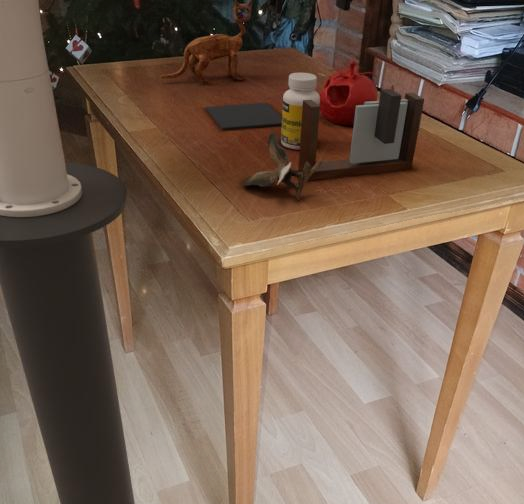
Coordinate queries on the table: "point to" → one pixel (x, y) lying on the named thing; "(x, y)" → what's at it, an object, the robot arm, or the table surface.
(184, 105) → the table surface
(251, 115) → the rubber mat
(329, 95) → the pomegranate
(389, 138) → the sliding panel with handle
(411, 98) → the dark brown u-shaped frame
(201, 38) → the cat figurine
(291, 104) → the supplement bottle
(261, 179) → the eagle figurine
